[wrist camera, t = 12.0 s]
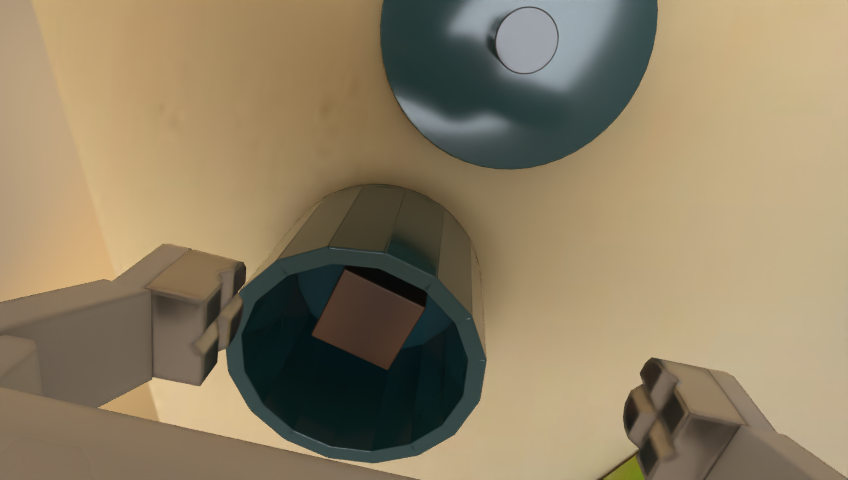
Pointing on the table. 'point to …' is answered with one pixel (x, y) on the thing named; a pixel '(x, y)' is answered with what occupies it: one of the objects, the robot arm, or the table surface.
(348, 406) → the pot
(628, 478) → the snack box
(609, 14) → the lid
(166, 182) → the table surface
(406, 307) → the block
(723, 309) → the table surface
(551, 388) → the table surface
